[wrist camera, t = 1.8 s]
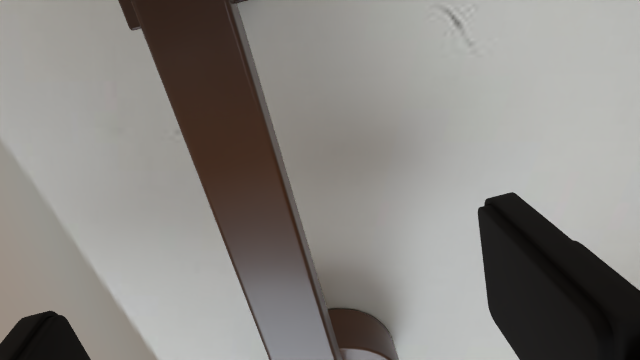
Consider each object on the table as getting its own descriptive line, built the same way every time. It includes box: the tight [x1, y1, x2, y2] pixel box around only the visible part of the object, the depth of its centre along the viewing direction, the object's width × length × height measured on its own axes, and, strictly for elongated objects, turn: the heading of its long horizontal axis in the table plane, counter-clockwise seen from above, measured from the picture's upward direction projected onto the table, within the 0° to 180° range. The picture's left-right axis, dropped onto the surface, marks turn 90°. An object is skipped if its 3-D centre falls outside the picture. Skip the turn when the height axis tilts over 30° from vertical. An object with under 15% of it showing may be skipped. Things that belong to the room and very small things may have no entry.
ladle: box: [118, 0, 399, 360], centre depth 15 cm, size 20×6×8 cm, turn 14°
